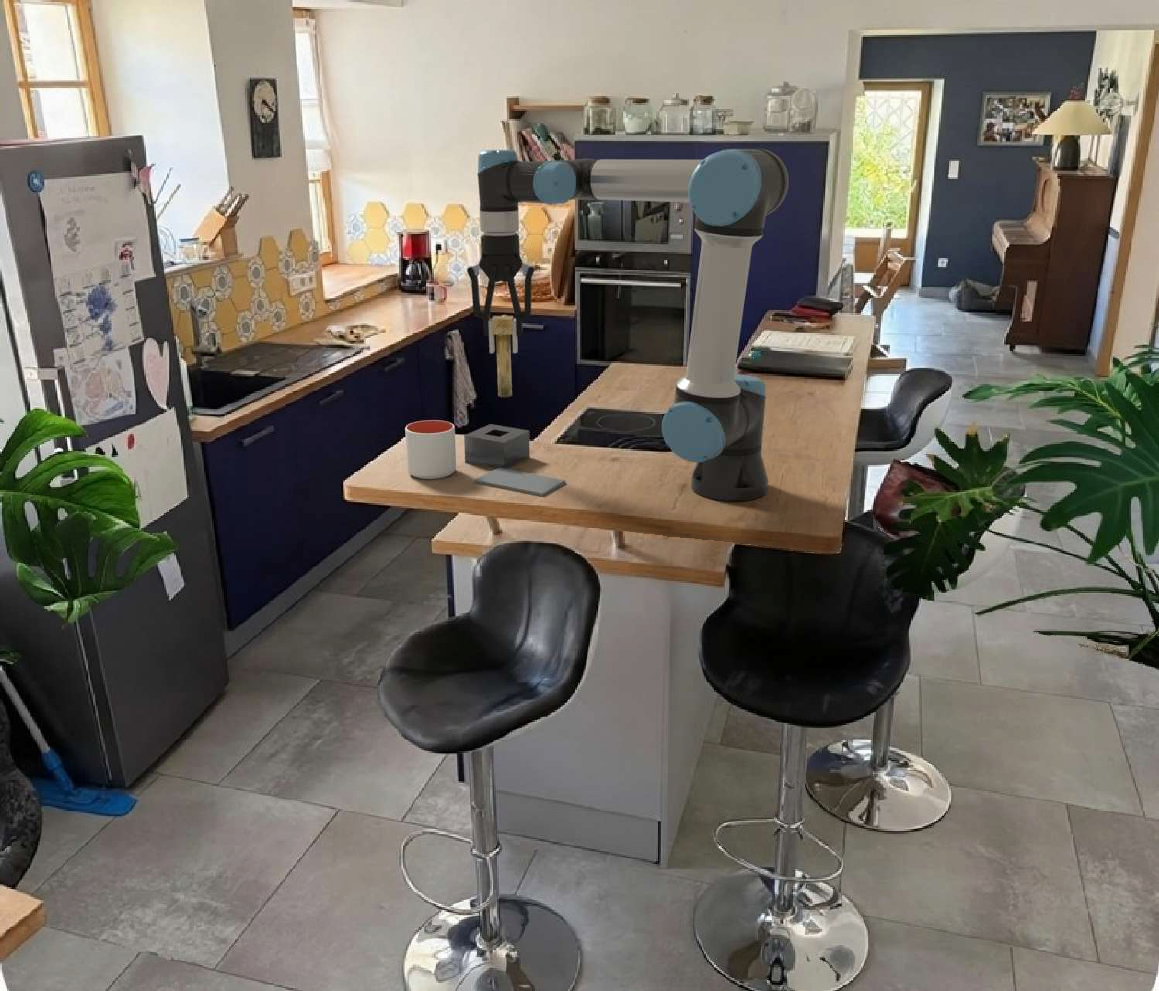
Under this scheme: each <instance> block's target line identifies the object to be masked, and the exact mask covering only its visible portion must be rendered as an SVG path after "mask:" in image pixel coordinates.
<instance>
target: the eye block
mask: <svg viewBox="0 0 1159 991" xmlns="http://www.w3.org/2000/svg"><path fill="white" fill-rule="evenodd" d="M463 438H464V439H463V440H464V441H463V442H464V444H463V445H464V463H466V464H471V465H476V466H477V465H478V466H481V467H485V468H492V469H497V468H499V467H500V468H505V469H510V468H511V467H513V466H516V465H517V464H520V463H521V462H523V461H525V460H527V459H528V458H530V430H527V429H521V428H516V427H509V426H503V425H497V424H492V423H490V424H488V425H485V426H484V427H480V428H478V429H476V430H474V431H471V432H469V433H466V434H465V435H464V436H463Z"/></svg>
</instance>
